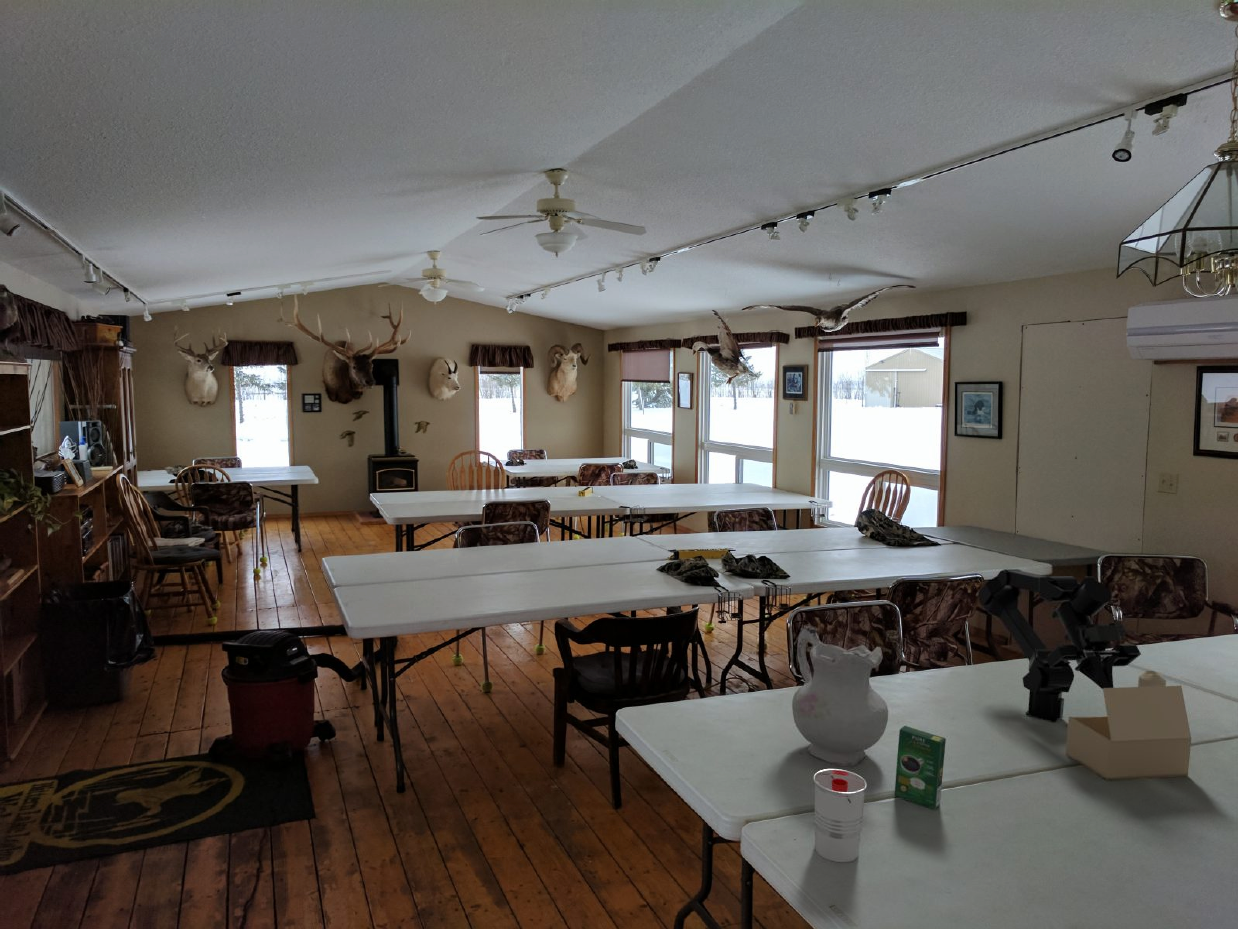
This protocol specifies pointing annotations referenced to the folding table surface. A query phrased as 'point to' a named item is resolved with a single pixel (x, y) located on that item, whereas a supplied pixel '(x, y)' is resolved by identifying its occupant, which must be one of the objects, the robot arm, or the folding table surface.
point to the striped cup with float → (838, 814)
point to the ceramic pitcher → (838, 700)
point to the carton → (1124, 752)
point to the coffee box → (919, 767)
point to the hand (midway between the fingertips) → (1110, 692)
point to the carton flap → (1146, 713)
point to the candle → (1151, 679)
